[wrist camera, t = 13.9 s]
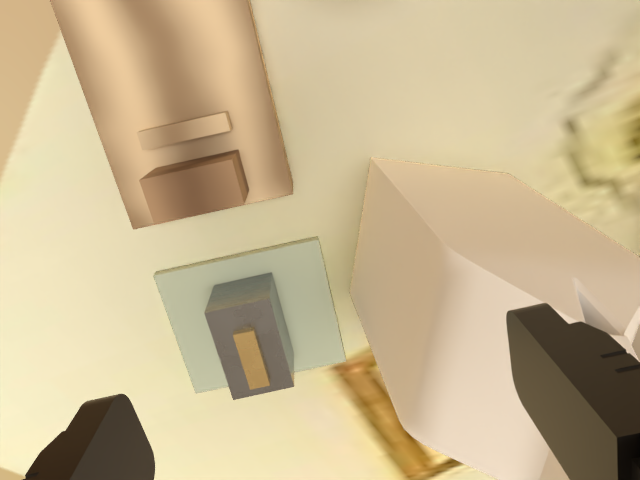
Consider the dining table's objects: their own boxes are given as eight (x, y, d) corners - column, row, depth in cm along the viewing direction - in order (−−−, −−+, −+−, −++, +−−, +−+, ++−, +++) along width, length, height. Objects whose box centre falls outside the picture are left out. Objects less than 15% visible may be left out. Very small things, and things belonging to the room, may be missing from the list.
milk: (370, 157, 39) (501, 307, 15) (508, 173, 40) (840, 337, 16) (349, 292, 43) (425, 587, 19) (475, 304, 44) (701, 597, 20)
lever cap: (271, 272, 41) (269, 302, 36) (293, 352, 44) (294, 391, 39) (213, 284, 41) (202, 316, 36) (239, 364, 44) (232, 404, 39)
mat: (317, 236, 41) (318, 239, 41) (345, 356, 45) (346, 361, 45) (155, 271, 42) (153, 275, 41) (197, 388, 46) (195, 393, 45)
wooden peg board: (216, -140, 32) (193, -203, 25) (292, 181, 40) (293, 209, 32) (39, -99, 32) (-37, -148, 25) (148, 214, 40) (114, 248, 32)
